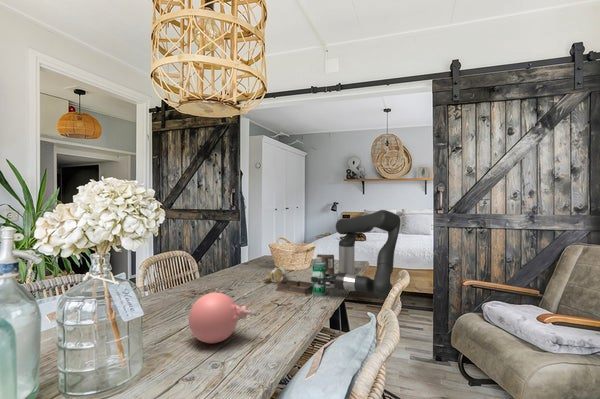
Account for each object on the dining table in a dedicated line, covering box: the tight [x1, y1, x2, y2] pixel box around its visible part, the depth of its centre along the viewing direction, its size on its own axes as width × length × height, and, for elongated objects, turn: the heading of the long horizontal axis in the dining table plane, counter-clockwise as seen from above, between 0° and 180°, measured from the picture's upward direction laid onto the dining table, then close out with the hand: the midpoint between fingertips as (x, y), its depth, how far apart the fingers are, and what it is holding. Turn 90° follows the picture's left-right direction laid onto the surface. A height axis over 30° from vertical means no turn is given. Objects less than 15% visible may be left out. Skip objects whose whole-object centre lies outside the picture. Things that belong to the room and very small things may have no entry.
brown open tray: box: [275, 279, 312, 297], centre depth 162 cm, size 11×17×3 cm, turn 60°
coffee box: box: [316, 254, 335, 289], centre depth 169 cm, size 9×6×16 cm
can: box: [311, 261, 327, 297], centre depth 156 cm, size 6×6×15 cm
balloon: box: [188, 292, 253, 344], centre depth 105 cm, size 15×20×15 cm
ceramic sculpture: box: [262, 265, 287, 283], centre depth 178 cm, size 11×9×15 cm
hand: (315, 277), depth 157 cm, fingers open, 8 cm apart
